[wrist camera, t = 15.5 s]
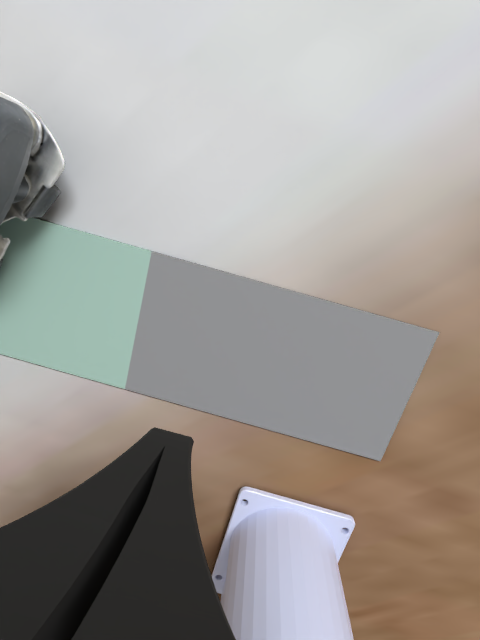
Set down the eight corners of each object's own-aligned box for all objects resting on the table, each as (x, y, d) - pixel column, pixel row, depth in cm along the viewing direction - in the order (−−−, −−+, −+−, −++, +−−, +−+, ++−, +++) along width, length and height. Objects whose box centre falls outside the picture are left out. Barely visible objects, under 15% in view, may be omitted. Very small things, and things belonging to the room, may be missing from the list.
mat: (379, 460, 22) (380, 461, 22) (-204, 295, 22) (-206, 295, 22) (438, 332, 20) (439, 332, 20) (-219, 146, 20) (-221, 146, 20)
